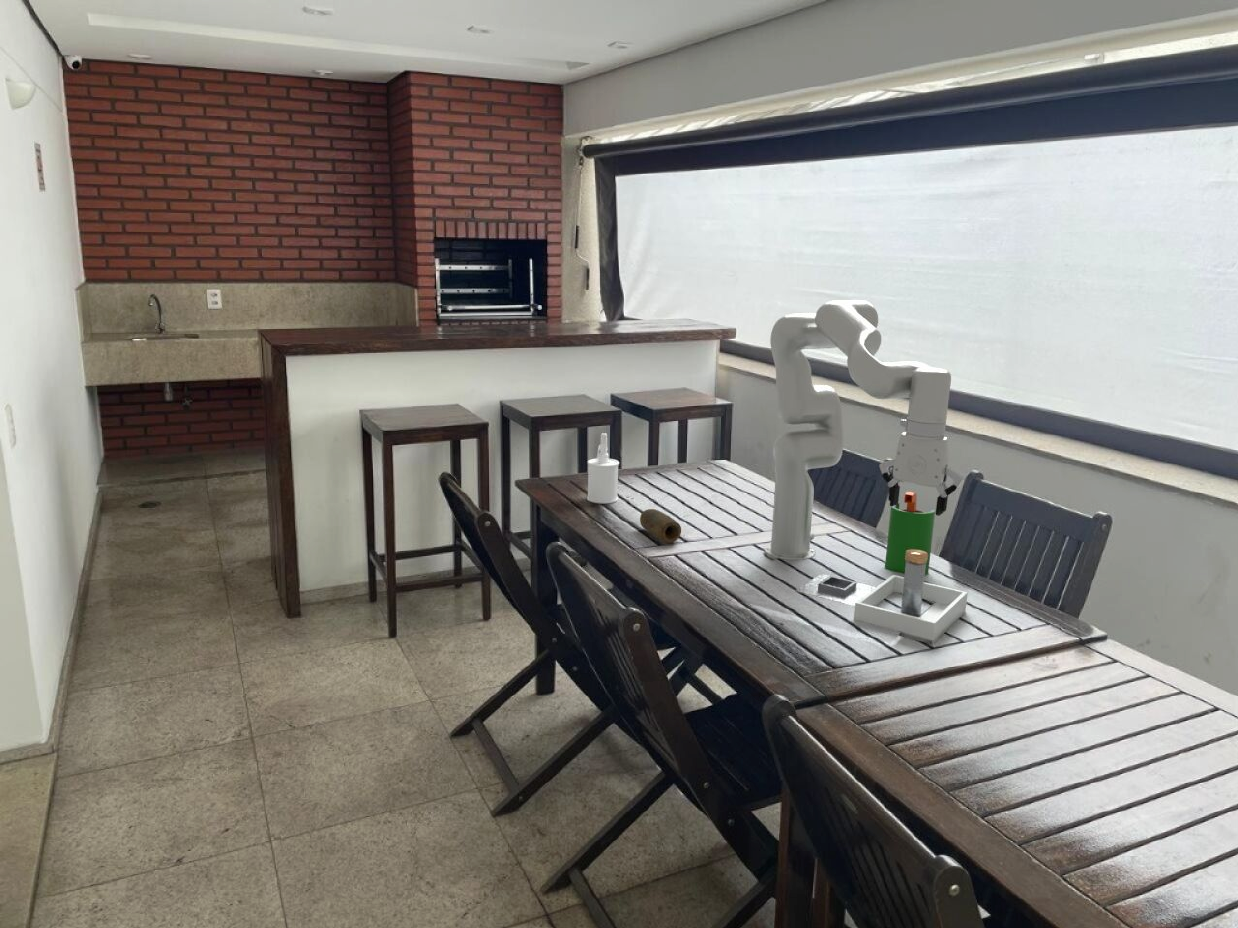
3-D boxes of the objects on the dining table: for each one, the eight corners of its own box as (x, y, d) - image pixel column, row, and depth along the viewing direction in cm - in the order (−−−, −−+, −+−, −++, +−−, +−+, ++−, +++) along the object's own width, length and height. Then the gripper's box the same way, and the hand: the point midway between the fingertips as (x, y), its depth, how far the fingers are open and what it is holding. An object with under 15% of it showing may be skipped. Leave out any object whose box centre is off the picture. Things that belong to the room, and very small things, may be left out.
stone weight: (685, 543, 250) (686, 518, 248) (662, 546, 246) (663, 521, 245) (657, 527, 263) (658, 503, 261) (635, 530, 259) (635, 506, 258)
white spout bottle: (617, 504, 282) (619, 437, 278) (586, 503, 282) (587, 436, 278) (618, 494, 293) (620, 429, 288) (587, 493, 293) (589, 429, 288)
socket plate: (820, 577, 227) (821, 567, 227) (878, 591, 219) (879, 581, 219) (794, 594, 216) (795, 584, 216) (853, 610, 208) (854, 599, 208)
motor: (930, 568, 236) (939, 489, 231) (925, 580, 228) (934, 498, 223) (887, 561, 240) (895, 483, 235) (881, 572, 232) (889, 492, 227)
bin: (891, 593, 218) (892, 574, 217) (965, 611, 209) (967, 592, 208) (853, 623, 201) (855, 602, 200) (932, 644, 192) (934, 623, 191)
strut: (896, 614, 205) (902, 553, 201) (904, 608, 208) (910, 548, 205) (917, 619, 202) (923, 557, 199) (924, 613, 206) (930, 552, 202)
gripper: (877, 425, 199) (869, 505, 203) (962, 438, 189) (952, 522, 193) (891, 420, 204) (882, 497, 209) (974, 432, 195) (963, 513, 199)
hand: (916, 509), depth 201 cm, fingers open, 9 cm apart
